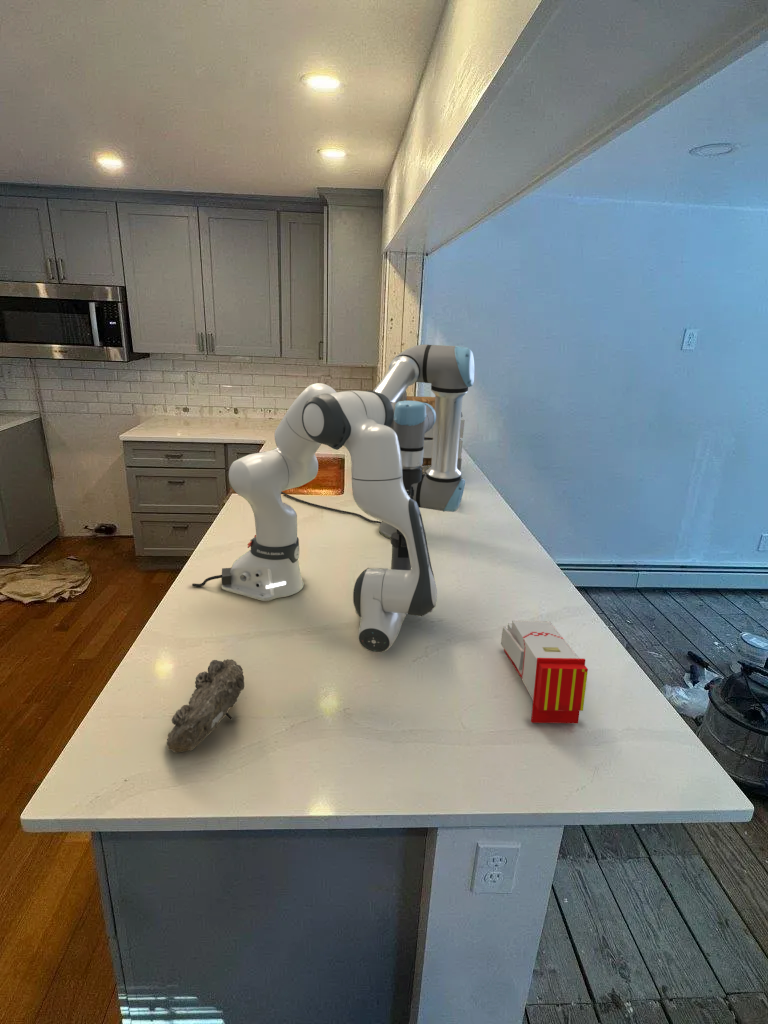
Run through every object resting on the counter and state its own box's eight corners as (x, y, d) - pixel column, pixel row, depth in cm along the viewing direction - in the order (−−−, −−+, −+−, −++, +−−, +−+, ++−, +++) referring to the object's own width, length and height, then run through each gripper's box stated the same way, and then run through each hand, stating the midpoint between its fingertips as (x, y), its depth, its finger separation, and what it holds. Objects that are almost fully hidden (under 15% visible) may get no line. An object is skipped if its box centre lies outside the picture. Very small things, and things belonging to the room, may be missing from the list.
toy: (547, 606, 135) (596, 665, 106) (541, 658, 138) (589, 729, 108) (496, 604, 134) (532, 664, 105) (492, 657, 137) (526, 729, 108)
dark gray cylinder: (391, 609, 150) (394, 542, 143) (387, 600, 154) (391, 534, 148) (410, 608, 150) (414, 541, 144) (406, 599, 155) (410, 534, 149)
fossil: (192, 660, 117) (244, 628, 112) (224, 691, 120) (276, 661, 115) (142, 746, 98) (202, 712, 93) (182, 779, 101) (242, 748, 96)
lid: (418, 546, 145) (418, 539, 144) (395, 549, 143) (395, 541, 142) (409, 537, 150) (410, 530, 149) (387, 539, 148) (387, 532, 147)
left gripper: (432, 602, 135) (440, 577, 148) (350, 589, 139) (364, 566, 152) (430, 625, 137) (438, 598, 150) (349, 612, 141) (363, 587, 154)
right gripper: (389, 454, 148) (386, 536, 156) (394, 476, 130) (389, 567, 138) (418, 455, 149) (413, 536, 157) (426, 477, 130) (420, 567, 138)
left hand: (400, 582), depth 151 cm, fingers closed on dark gray cylinder, 5 cm apart
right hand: (402, 550), depth 147 cm, fingers open, 7 cm apart
